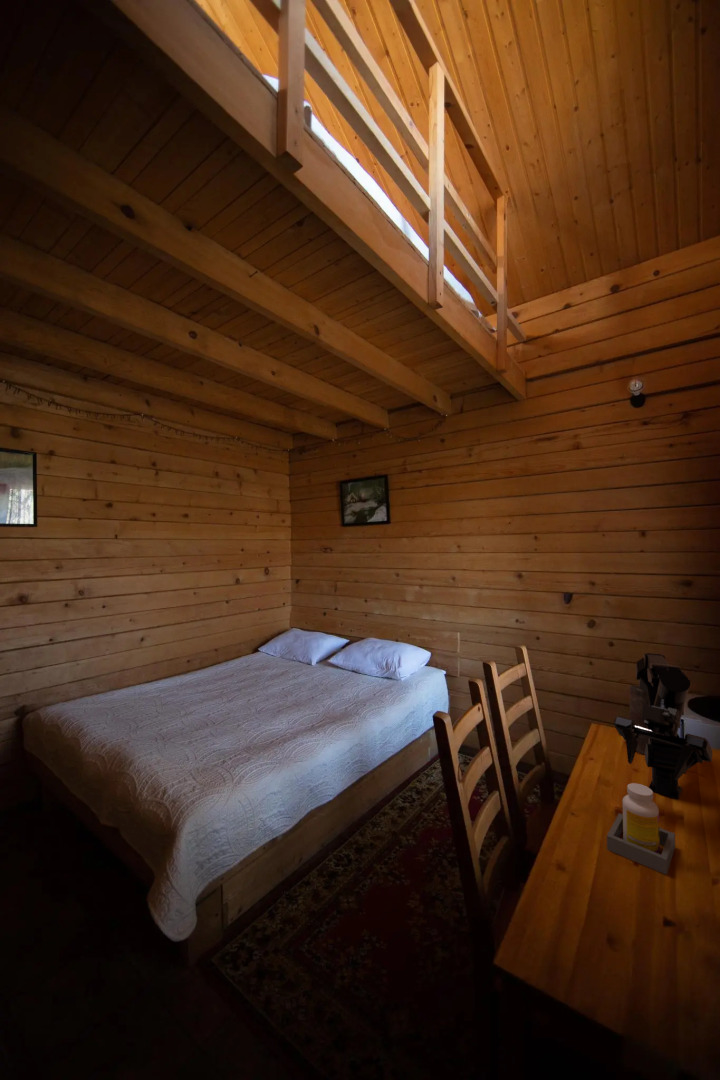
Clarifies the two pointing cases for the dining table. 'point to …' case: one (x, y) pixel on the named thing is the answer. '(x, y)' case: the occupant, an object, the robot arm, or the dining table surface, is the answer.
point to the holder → (639, 853)
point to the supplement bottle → (641, 818)
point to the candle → (638, 714)
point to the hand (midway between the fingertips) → (651, 770)
